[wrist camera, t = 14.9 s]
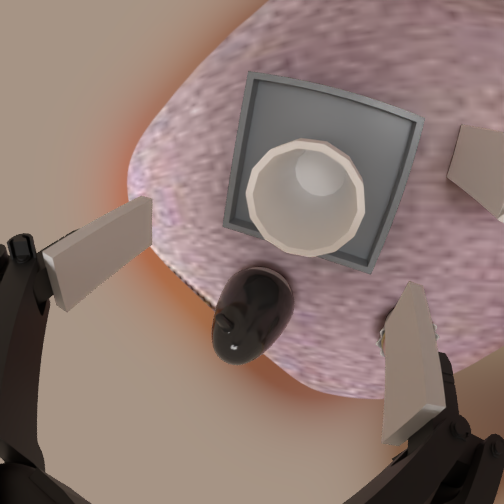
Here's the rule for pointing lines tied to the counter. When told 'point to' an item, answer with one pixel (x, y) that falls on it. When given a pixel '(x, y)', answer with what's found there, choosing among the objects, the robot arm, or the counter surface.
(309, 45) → the counter surface
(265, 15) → the counter surface
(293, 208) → the foam cup
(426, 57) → the counter surface
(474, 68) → the counter surface
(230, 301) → the pump dispenser
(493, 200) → the milk carton
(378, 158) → the tray
